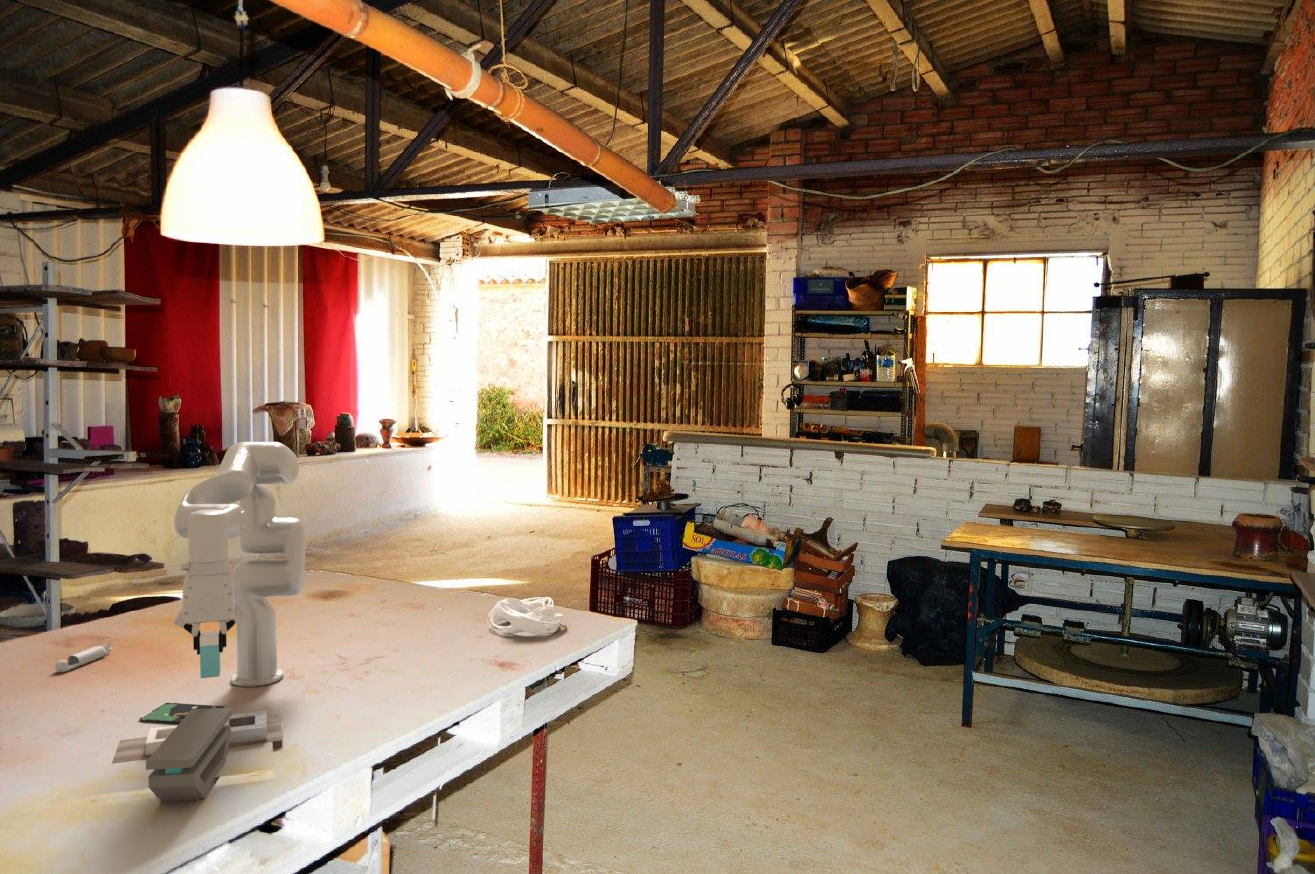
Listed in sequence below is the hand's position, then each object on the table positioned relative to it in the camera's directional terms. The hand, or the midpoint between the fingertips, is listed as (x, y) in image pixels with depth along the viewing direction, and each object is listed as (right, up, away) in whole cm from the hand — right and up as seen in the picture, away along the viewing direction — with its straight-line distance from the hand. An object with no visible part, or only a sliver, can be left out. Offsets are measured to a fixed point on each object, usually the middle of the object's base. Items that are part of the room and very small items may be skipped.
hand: (210, 650), depth 195 cm
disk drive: (-14, -20, +14) cm, 28 cm away
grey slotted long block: (+5, -23, -17) cm, 29 cm away
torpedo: (-60, -16, +52) cm, 81 cm away
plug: (0, -5, 0) cm, 5 cm away
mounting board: (-2, -21, +1) cm, 21 cm away
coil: (+54, -15, +94) cm, 110 cm away
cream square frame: (-8, -20, -2) cm, 21 cm away
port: (+5, -19, +4) cm, 20 cm away
